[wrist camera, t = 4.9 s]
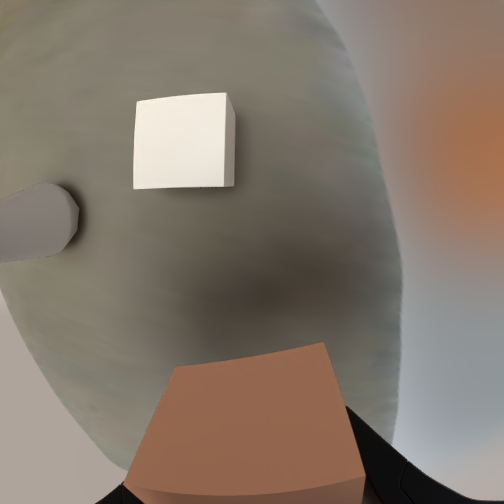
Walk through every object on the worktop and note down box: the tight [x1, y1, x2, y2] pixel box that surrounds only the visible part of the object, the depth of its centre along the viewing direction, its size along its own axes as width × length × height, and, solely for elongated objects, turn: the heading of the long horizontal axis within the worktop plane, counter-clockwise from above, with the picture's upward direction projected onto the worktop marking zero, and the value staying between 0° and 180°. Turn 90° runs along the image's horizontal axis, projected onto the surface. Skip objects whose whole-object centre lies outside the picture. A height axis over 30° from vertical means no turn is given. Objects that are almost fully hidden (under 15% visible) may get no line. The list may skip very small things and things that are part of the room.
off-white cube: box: [133, 93, 236, 189], centre depth 16 cm, size 5×5×5 cm
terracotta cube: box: [123, 342, 366, 504], centre depth 7 cm, size 5×5×5 cm
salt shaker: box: [0, 183, 79, 263], centre depth 13 cm, size 6×6×13 cm
